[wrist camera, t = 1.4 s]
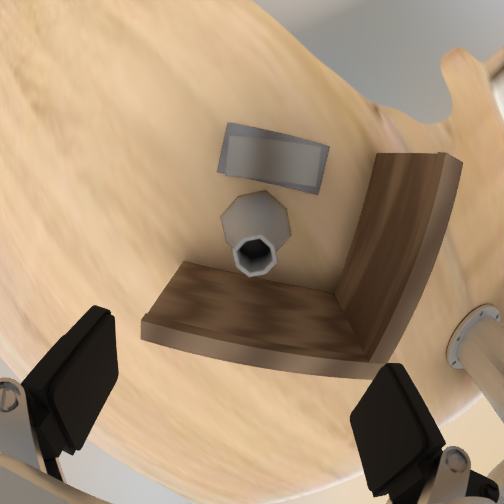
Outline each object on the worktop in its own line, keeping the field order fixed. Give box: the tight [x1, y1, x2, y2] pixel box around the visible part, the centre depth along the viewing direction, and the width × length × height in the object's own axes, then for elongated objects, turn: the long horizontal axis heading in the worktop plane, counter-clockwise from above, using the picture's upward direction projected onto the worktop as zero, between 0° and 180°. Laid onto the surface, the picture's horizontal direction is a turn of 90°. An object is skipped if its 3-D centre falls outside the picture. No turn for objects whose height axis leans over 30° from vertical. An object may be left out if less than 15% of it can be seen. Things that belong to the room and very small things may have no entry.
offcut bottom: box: [217, 123, 330, 195], centre depth 27 cm, size 10×5×2 cm, turn 78°
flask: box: [221, 191, 291, 278], centre depth 25 cm, size 7×7×10 cm
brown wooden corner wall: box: [141, 152, 463, 380], centre depth 23 cm, size 19×18×13 cm
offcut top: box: [225, 136, 321, 187], centre depth 24 cm, size 8×4×2 cm, turn 84°
